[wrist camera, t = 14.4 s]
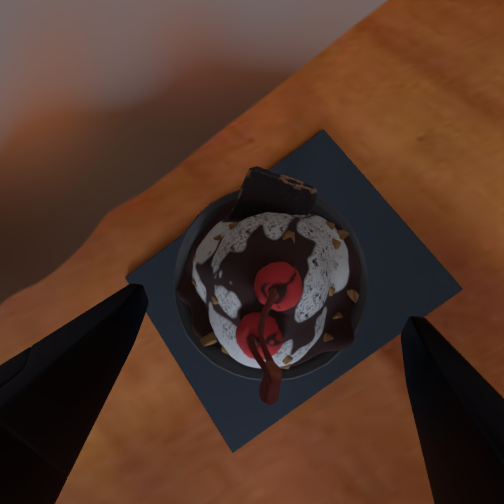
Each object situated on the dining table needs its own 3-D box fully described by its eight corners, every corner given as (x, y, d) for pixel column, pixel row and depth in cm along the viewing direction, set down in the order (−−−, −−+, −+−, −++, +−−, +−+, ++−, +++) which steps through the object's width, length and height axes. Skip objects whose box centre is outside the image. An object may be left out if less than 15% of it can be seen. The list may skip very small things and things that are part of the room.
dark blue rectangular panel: (461, 288, 18) (462, 289, 18) (233, 451, 19) (232, 453, 19) (323, 130, 21) (323, 129, 21) (126, 277, 21) (124, 277, 21)
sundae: (283, 357, 19) (254, 589, 4) (212, 287, 20) (-1, 277, 5) (351, 283, 19) (557, 257, 4) (275, 218, 20) (233, 23, 6)
